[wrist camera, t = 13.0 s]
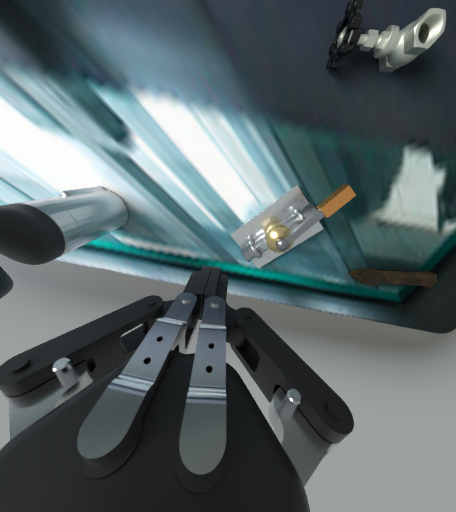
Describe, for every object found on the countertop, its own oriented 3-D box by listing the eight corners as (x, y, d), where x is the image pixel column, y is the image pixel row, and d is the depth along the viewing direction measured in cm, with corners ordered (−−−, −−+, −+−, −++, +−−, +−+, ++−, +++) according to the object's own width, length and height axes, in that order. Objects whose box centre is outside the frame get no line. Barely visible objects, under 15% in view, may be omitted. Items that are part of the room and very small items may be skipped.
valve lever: (280, 250, 35) (282, 254, 34) (272, 242, 35) (274, 246, 33) (350, 194, 30) (356, 195, 28) (342, 184, 29) (348, 184, 27)
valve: (415, 29, 26) (337, 20, 26) (466, -12, 20) (364, -23, 20) (391, 87, 29) (321, 78, 29) (429, 66, 23) (341, 56, 23)
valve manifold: (230, 232, 43) (228, 245, 36) (295, 184, 37) (308, 188, 30) (257, 265, 47) (260, 283, 40) (320, 226, 41) (337, 239, 34)
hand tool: (426, 268, 44) (445, 278, 40) (417, 281, 46) (434, 292, 42) (351, 261, 45) (362, 271, 40) (345, 274, 46) (355, 285, 42)
